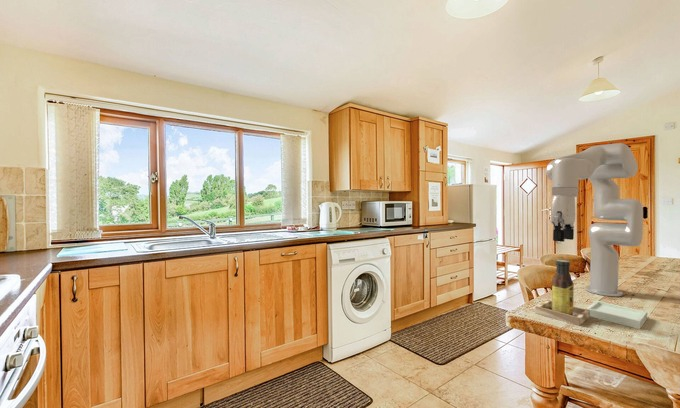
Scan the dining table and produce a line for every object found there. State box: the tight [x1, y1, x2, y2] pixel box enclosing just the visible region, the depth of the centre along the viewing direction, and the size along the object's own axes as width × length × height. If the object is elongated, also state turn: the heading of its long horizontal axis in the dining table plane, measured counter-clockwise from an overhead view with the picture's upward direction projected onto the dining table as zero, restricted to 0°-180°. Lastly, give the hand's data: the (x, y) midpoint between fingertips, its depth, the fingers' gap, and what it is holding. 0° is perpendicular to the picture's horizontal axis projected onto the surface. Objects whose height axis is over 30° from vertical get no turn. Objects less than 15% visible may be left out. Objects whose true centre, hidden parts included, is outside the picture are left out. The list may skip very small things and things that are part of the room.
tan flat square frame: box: [534, 299, 590, 327], centre depth 107 cm, size 12×13×2 cm
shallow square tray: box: [584, 300, 648, 330], centre depth 106 cm, size 14×14×2 cm
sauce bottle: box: [551, 259, 575, 316], centre depth 107 cm, size 7×6×20 cm
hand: (563, 240), depth 106 cm, fingers open, 9 cm apart
